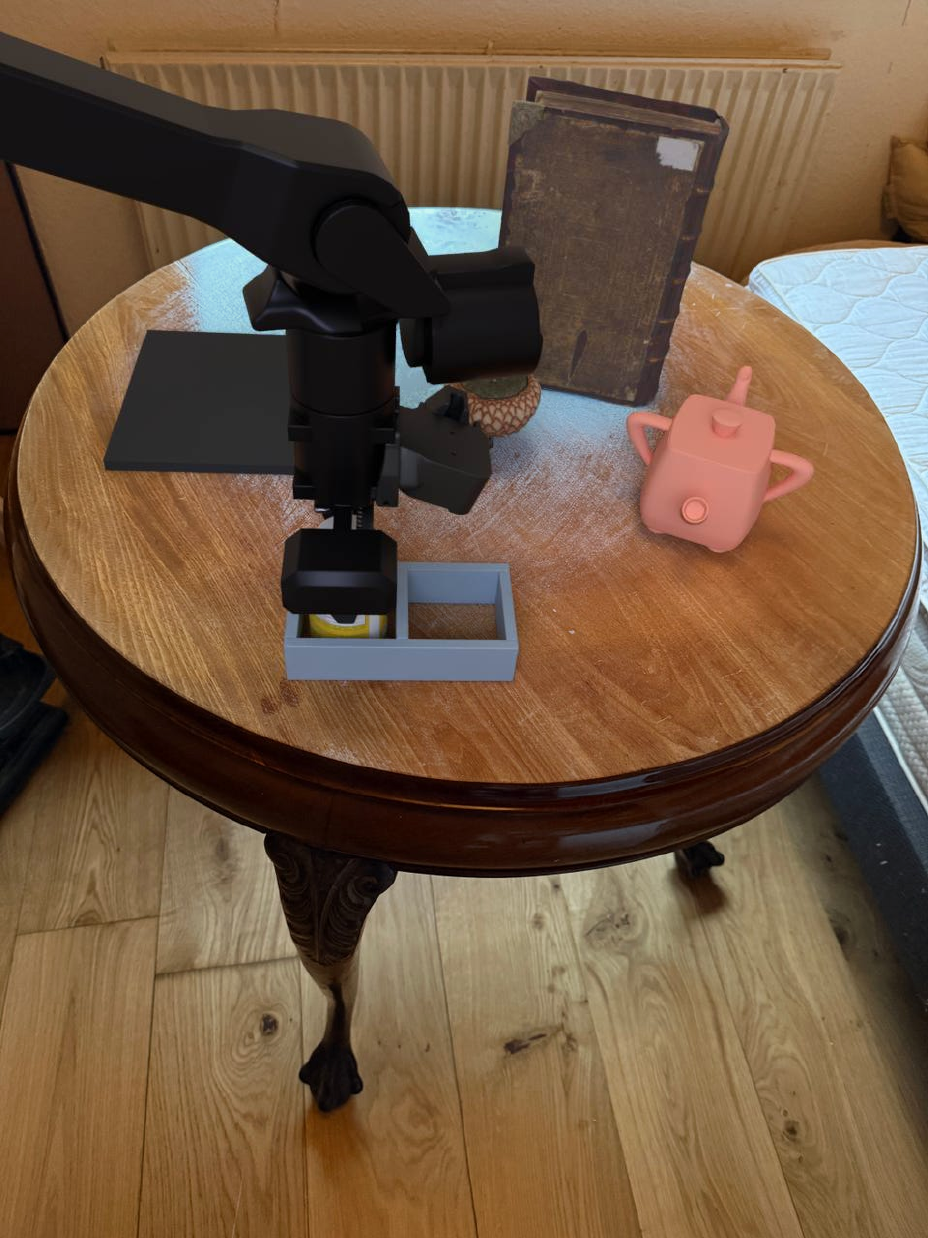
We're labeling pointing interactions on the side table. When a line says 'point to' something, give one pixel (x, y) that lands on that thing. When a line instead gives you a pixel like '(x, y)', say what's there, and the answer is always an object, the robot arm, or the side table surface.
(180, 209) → the robot arm
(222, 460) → the mat
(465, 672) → the holder
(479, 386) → the acorn
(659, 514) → the teapot
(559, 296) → the book
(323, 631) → the supplement bottle
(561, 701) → the side table surface
